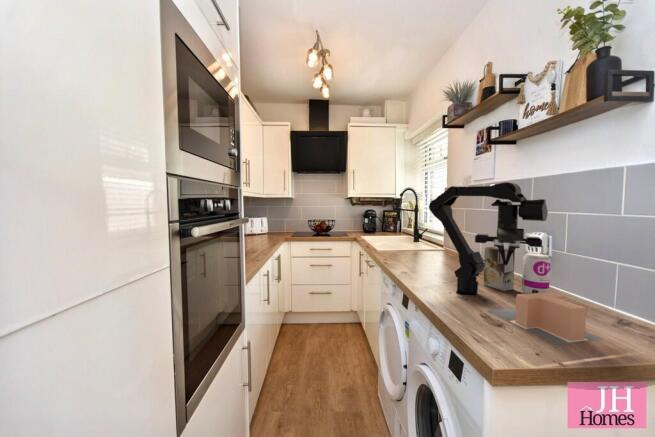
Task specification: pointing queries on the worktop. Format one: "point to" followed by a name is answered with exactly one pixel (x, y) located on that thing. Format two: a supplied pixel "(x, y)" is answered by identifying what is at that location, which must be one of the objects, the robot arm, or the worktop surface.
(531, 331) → the mat
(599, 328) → the worktop surface
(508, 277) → the coffee box
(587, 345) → the worktop surface
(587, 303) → the worktop surface
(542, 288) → the supplement can
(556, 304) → the t block
